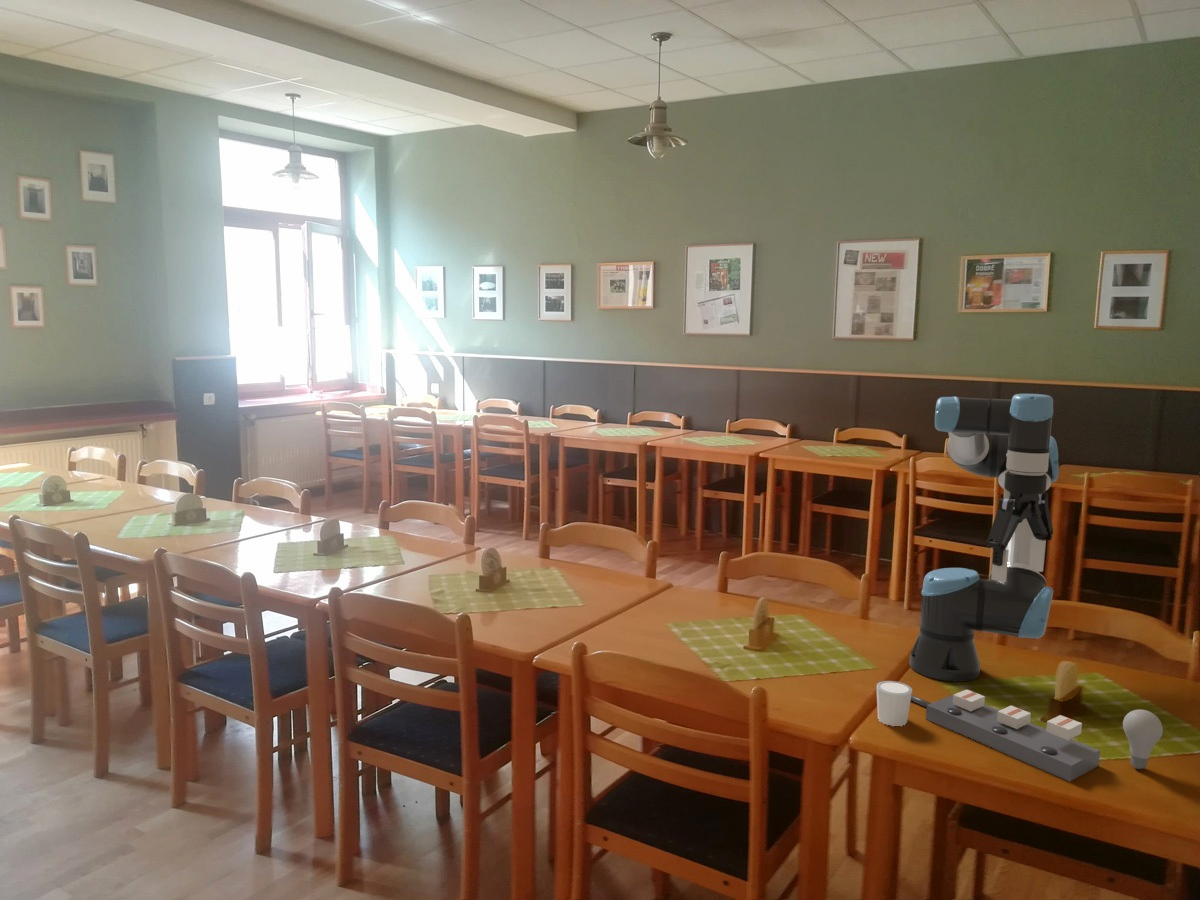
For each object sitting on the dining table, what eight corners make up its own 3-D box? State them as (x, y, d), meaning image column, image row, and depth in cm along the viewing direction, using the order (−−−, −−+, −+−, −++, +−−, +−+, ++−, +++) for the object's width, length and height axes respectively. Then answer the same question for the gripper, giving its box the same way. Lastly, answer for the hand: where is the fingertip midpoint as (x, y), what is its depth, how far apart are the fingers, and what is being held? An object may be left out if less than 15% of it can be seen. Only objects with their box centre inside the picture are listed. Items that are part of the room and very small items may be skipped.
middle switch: (1010, 715, 172) (1011, 705, 171) (1030, 722, 169) (1030, 712, 168) (996, 721, 169) (997, 710, 169) (1016, 729, 166) (1017, 718, 166)
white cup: (913, 729, 173) (915, 695, 172) (876, 726, 174) (878, 692, 173) (907, 714, 180) (909, 681, 179) (872, 711, 181) (874, 678, 180)
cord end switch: (966, 698, 180) (966, 689, 179) (984, 705, 176) (984, 696, 176) (952, 704, 177) (953, 694, 177) (970, 711, 174) (971, 701, 173)
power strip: (914, 690, 191) (915, 676, 191) (1098, 765, 160) (1100, 748, 159) (885, 701, 185) (886, 686, 185) (1069, 781, 154) (1071, 764, 153)
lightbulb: (1111, 760, 162) (1116, 703, 160) (1142, 759, 162) (1149, 703, 160) (1133, 777, 156) (1139, 719, 154) (1166, 776, 156) (1172, 718, 154)
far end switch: (1059, 725, 164) (1060, 714, 163) (1081, 733, 161) (1082, 722, 160) (1046, 731, 161) (1047, 720, 161) (1067, 740, 158) (1069, 729, 158)
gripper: (1041, 463, 185) (1033, 561, 188) (972, 475, 171) (964, 580, 174) (1077, 469, 179) (1068, 570, 182) (1009, 481, 165) (1000, 590, 168)
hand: (1017, 575), depth 178 cm, fingers open, 13 cm apart
